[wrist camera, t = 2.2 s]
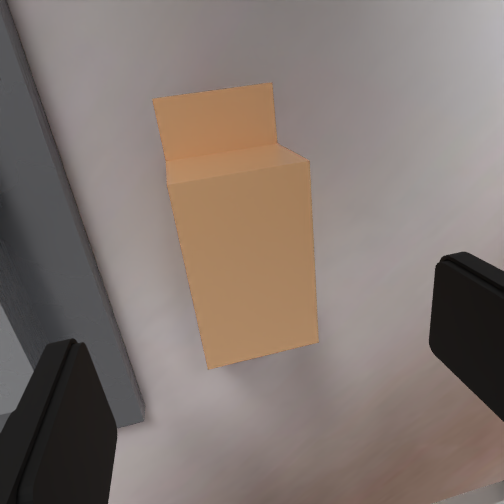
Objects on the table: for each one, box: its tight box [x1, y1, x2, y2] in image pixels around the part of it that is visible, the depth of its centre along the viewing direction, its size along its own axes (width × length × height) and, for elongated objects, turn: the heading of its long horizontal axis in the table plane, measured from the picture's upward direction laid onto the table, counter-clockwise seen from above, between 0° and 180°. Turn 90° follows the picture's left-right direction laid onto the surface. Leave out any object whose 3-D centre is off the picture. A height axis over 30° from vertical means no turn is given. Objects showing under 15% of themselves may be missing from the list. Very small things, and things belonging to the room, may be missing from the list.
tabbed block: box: [152, 83, 319, 370], centre depth 14 cm, size 10×4×6 cm, turn 7°
